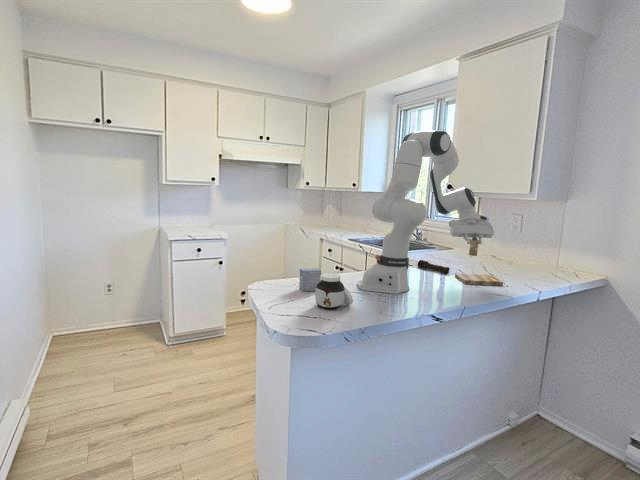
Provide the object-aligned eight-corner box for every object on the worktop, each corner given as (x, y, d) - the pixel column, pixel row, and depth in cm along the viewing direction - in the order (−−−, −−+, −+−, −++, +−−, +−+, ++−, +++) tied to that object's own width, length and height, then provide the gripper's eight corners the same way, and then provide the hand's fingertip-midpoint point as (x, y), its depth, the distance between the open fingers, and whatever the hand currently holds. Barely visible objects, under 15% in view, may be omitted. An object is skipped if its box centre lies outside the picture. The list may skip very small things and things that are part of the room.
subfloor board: (464, 283, 171) (464, 279, 170) (454, 276, 184) (455, 273, 183) (502, 285, 170) (503, 281, 170) (490, 278, 183) (491, 274, 183)
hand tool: (449, 274, 190) (450, 265, 189) (445, 275, 188) (445, 266, 187) (420, 266, 205) (421, 258, 204) (416, 267, 203) (416, 259, 202)
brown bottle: (470, 255, 173) (473, 233, 171) (467, 254, 177) (470, 231, 175) (478, 256, 173) (480, 233, 171) (475, 254, 177) (477, 232, 175)
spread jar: (311, 306, 130) (313, 275, 129) (328, 299, 140) (330, 269, 138) (340, 314, 124) (342, 281, 122) (356, 305, 133) (358, 275, 131)
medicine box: (316, 287, 154) (317, 267, 153) (320, 290, 150) (321, 270, 149) (298, 288, 151) (299, 268, 150) (302, 292, 147) (303, 271, 146)
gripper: (450, 216, 179) (454, 238, 171) (491, 217, 179) (498, 240, 171) (446, 224, 184) (450, 246, 176) (486, 225, 184) (493, 247, 176)
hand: (474, 243), depth 173 cm, fingers closed on brown bottle, 4 cm apart
